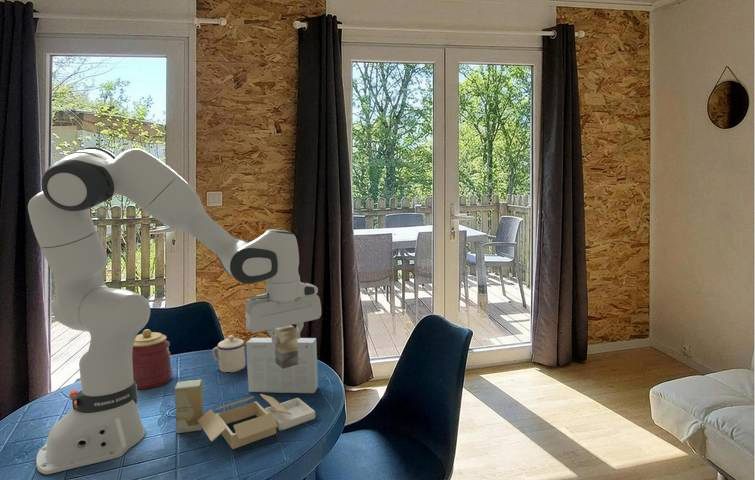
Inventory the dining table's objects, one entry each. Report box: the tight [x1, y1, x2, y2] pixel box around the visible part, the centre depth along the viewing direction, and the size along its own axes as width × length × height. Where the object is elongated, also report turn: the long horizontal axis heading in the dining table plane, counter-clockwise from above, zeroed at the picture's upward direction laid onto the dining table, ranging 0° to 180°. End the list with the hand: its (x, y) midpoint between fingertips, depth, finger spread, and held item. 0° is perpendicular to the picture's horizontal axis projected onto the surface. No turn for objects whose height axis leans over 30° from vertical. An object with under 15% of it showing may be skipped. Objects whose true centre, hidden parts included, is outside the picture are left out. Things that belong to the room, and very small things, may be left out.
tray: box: [263, 397, 316, 432], centre depth 121 cm, size 10×10×2 cm
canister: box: [132, 328, 173, 390], centre depth 145 cm, size 13×13×18 cm
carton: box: [197, 393, 291, 450], centre depth 114 cm, size 20×19×6 cm
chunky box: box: [273, 325, 298, 369], centre depth 118 cm, size 4×4×10 cm
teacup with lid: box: [211, 334, 246, 373], centre depth 155 cm, size 12×9×12 cm
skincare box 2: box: [245, 337, 319, 394], centre depth 137 cm, size 21×6×16 cm, turn 84°
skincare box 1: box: [174, 379, 204, 434], centre depth 116 cm, size 6×4×12 cm
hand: (286, 341), depth 118 cm, fingers closed on chunky box, 4 cm apart
